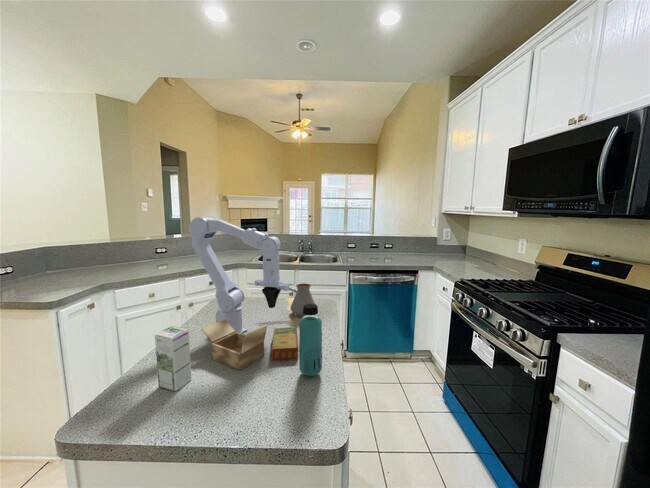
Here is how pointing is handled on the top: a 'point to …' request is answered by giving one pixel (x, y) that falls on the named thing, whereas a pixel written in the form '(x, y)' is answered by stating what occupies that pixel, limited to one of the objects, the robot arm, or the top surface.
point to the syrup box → (173, 358)
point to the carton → (285, 344)
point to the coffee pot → (301, 299)
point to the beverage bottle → (310, 341)
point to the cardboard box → (235, 352)
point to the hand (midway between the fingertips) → (272, 307)
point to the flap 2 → (254, 338)
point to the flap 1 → (218, 330)
